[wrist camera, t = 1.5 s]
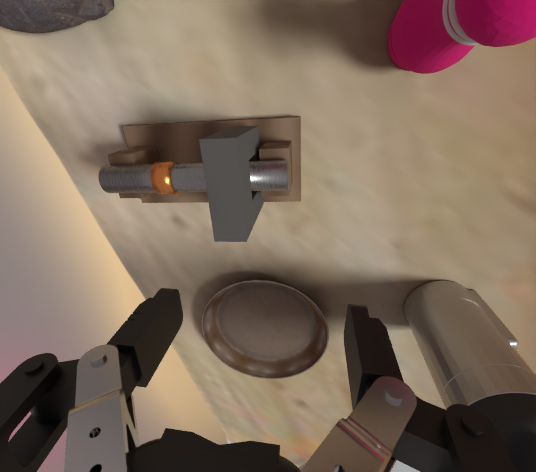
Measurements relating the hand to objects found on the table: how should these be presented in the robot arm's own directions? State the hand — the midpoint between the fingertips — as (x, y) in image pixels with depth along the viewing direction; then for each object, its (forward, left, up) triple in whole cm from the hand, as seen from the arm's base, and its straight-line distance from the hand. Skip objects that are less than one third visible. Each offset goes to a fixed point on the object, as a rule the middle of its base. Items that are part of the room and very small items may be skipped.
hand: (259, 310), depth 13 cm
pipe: (+10, -2, -20) cm, 22 cm away
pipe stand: (+10, -2, -26) cm, 28 cm away
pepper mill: (-13, -14, -26) cm, 33 cm away
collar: (+5, -2, -23) cm, 23 cm away
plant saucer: (+5, +25, -27) cm, 37 cm away
